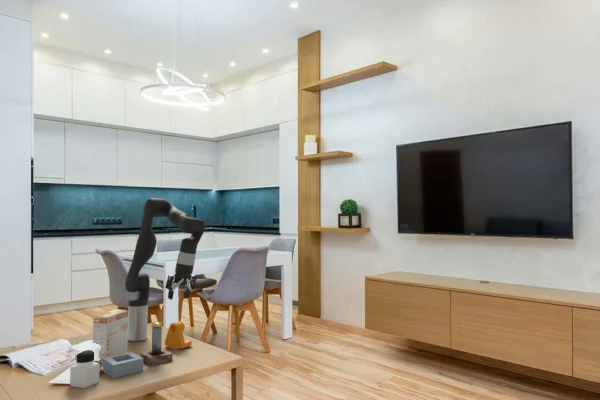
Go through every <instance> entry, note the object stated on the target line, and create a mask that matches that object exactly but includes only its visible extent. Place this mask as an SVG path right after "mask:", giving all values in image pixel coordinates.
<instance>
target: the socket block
mask: <svg viewBox="0 0 600 400" xmlns="http://www.w3.org/2000/svg"><path fill="white" fill-rule="evenodd" d="M139 356H140V357H142V358H143V363H145V364H147V365H149V366H156V365H159V364H163V363H167V362H172V361H173V357H174V355H173V352H170V351H169V350H166V349H165V348H161V354H160V355H156V356H152V350H148V351H145V352H144V351H143V352H140V355H139Z"/></svg>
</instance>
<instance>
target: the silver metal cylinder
mask: <svg viewBox="0 0 600 400" xmlns="http://www.w3.org/2000/svg"><path fill="white" fill-rule="evenodd" d="M162 330H163V322H162V321H156V322H152V323H151V351H152V356H156V355H160V354H161V349H162V337H163V336H162V333H163V331H162Z"/></svg>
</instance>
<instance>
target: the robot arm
mask: <svg viewBox="0 0 600 400" xmlns="http://www.w3.org/2000/svg"><path fill="white" fill-rule="evenodd" d="M143 206H144V207H143V213H142V220H141V225H140V228H139V229H140V230H139V234H138V236H137V241H136V245H135V249H134V252H133V257H132V260H131V261H132V262H131V264H130V267H129V270H128V272H127V275H126V278H125V285H124V287H125V290H126V292H128V293H137V294H136V295H135V296H133V297H132V298H130V299H128V307H127V308H128V334H127V341H128V342H130V341H131V342H140V341H144V340H147V339H148V312H149V310H148V306H149V305H148V304H149V303H148V301H149V298H150V286H151V285H150V284H151V282H150V279H151V278H150V276H149V274H148V273H146V272H141V270H142V269H143V267H145V265H146V264H147V263H148V262H149V260H151V258H152V257H153V255H154V254H155V251H156V246H157V243H158V241H157V237H156V235H155V232H154V230H153V219H154V218H164V217H165V218H168V220H169V222H170V223H171V224H173V225H174V226H175V227H178V229H180V231H181V232H183V233H185V234H190V236H189V237H186V238H185V237H184V238H183V239H182V240H181V243H180V249H179V252H178V254H177V259H176V264H175V269H174V272H175V273H174V275H172V274H168V275H167V278H166V279H167V280H166V283H165V289H167V290H168V293H167V298H168V300H171V301H172V300H173V298H174V293H175V290H176V289H177V288H178V287H179V286H184V287H185V291H184V295H183V298H184V299H189V298H190V295H191V291H192V290H194V289H195V288H196V282H197V275H194V274H193V272H194V266H195V261H196V252H197V248H198V245H199V242H200V241H201V238H202V236H203V235H204V232H205V231H206V230H205V229H206V223H205V221H204V220H203V219H201V218H197V217H191V216H190V215H189V214H188V213H186V212H184V211H182V210H180V209H178V208H177V207H176V206H175V205H173V204H172V203H171V202H170V201H169V200H167V199H165V198H158V197H157V198H155V197H149V198H148V199H147V200H146V201H145V203H144V205H143Z"/></svg>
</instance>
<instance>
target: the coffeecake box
mask: <svg viewBox="0 0 600 400" xmlns="http://www.w3.org/2000/svg"><path fill="white" fill-rule="evenodd" d="M92 319H93V321H92V322H93V324H92V325H93V326H92V344H93V343H96V344H99V345H100V346H101V349H100V351H99V358H100V360H99V362H98V363H102V358H103V357H108V356H113V355H118V354H123V353H128V310H127V309H121V308H120V309H118V308H116V309H112V310H110V311H106V312H104V313H99V314H97V315H93V318H92Z"/></svg>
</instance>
